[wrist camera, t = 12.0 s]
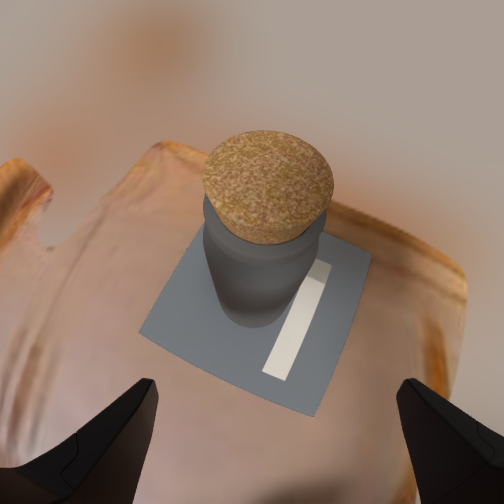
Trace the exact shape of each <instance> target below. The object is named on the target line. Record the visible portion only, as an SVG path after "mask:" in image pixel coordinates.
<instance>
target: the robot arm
mask: <svg viewBox="0 0 504 504" xmlns="http://www.w3.org/2000/svg"><path fill="white" fill-rule="evenodd" d="M158 398H159V396H158V391H157V388H156V384H155V381H154V380H153V379H148V378H142V379H140V380H139V381H138V382H137V383H136V384H134V385H133V386H132V387H131V388H130V389H128V390H127V391H126V392H125V393H124V394H122V395H121V396H120V397H119V398H117V399H116V400H115V401H114V402H113V403H111V404H110V405H109V406H108V407H106V408H105V409H104V410H103V411H101V412H100V413H99V414H98V415H96V416H95V417H94V418H93V419H91V420H90V421H89V422H88V423H86V424H85V425H84V426H83V427H81V428H80V429H79V430H78V431H77V432H76V433H74V434H72V435H71V436H70V437H69V438H67V439H66V440H65V441H63V442H62V443H60V444H59V445H57V446H56V447H54V448H53V449H51V450H49V451H48V452H46V453H44V454H43V455H41V456H39V457H37V458H35V459H34V460H32V461H30V462H28V463H26V464H24V465H22V466H19V467H14V468H0V504H132V503H133V500H134V496H135V492H136V489H137V485H138V482H139V478H140V475H141V471H142V468H143V464H144V461H145V458H146V454H147V451H148V448H149V444H150V441H151V437H152V433H153V427H154V421H155V416H156V410H157V405H158ZM396 400H397V404H398V409H399V414H400V420H401V425H402V430H403V434H404V437H405V440H406V444H407V447H408V451H409V455H410V458H411V462H412V466H413V470H414V474H415V478H416V482H417V486H418V491H419V495H420V500H421V504H504V437H503V436H501V435H500V434H498V433H496V432H494V431H492V430H491V429H489V428H487V427H486V426H484V425H483V424H481V423H480V422H478V421H476V420H475V419H474V418H472V417H471V416H469V415H468V414H466V413H465V412H463V411H462V410H461V409H459V408H458V407H456V406H454V405H453V404H452V403H450V402H449V401H447V400H446V399H444V398H443V397H442V396H440V395H439V394H437V393H436V392H434V391H433V390H431V389H430V388H428V387H427V386H426V385H424V384H423V383H421V382H420V381H418V380H417V379H415V378H409V379H405V380H404V381H403V383H402V385H401V387H400V389H399V390H398V392H397V395H396Z"/></svg>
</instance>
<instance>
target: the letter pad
mask: <svg viewBox="0 0 504 504" xmlns="http://www.w3.org/2000/svg"><path fill="white" fill-rule="evenodd" d="M204 225H205V222H204V224H203V225H202V227H201V228H200V230H199V231H198V233H197V234H196V236H195V238H194V239H193V241H192V242H191V244H190V246H189V247H188V249H187V250H186V252H185V254H184V255H183V257H182V258H181V260H180V262H179V263H178V265H177V267H176V268H175V270H174V272H173V273H172V275H171V277H170V278H169V280H168V282H167V283H166V285H165V287H164V288H163V290H162V292H161V294H160V295H159V297H158V299H157V300H156V302H155V304H154V306H153V307H152V309H151V311H150V313H149V314H148V316H147V318H146V320H145V322H144V323H143V325H142V327H141V329H140V331H139V332H138V333H140V334H141V335H143V336H144V337H146V338H148V339H149V340H151V341H152V342H154V343H156V344H157V345H159V346H161V347H162V348H164V349H166V350H168V351H169V352H171V353H173V354H174V355H176V356H178V357H180V358H182V359H183V360H185V361H187V362H189V363H191V364H193V365H194V366H196V367H198V368H200V369H202V370H204V371H206V372H208V373H210V374H212V375H214V376H216V377H218V378H220V379H222V380H224V381H226V382H228V383H230V384H232V385H234V386H237V387H239V388H241V389H243V390H245V391H248V392H250V393H252V394H254V395H257V396H259V397H261V398H264V399H266V400H269V401H271V402H273V403H276V404H278V405H281V406H284V407H286V408H289V409H291V410H294V411H297V412H300V413H302V414H305V415H308V416H311V417H314V415H315V413H316V411H317V409H318V406H319V404H320V402H321V400H322V398H323V395H324V393H325V391H326V389H327V386H328V384H329V382H330V379H331V377H332V375H333V372H334V370H335V367H336V365H337V362H338V360H339V357H340V354H341V352H342V349H343V347H344V344H345V341H346V338H347V336H348V333H349V330H350V327H351V324H352V321H353V318H354V315H355V312H356V309H357V306H358V303H359V300H360V297H361V293H362V290H363V287H364V283H365V280H366V276H367V273H368V269H369V265H370V262H371V258H372V254H371V253H369V252H367V251H365V250H363V249H360V248H358V247H356V246H354V245H352V244H350V243H347V242H345V241H343V240H341V239H339V238H336V237H334V236H332V235H330V234H327V233H325V232H323V231H322V232H321V234H320V236H319V247H318V252H317V256H316V259H315V261H314V263H313V265H312V267H311V269H310V270H309V272H308V274H307V276H306V277H305V279H304V281H303V283H302V284H301V286H300V287H299V289H298V291H297V292H296V294H295V295H294V297H293V298H292V300H291V302H290V303H289V305H288V306H287V308H286V309H285V311H284V312H283V313H282V315H281V316H280V317H279V318H278V319H277V320H276V321H274V322H273V323H271V324H269V325H267V326H264V327H261V328H248V327H243V326H240V325H238V324H236V323H234V322H233V321H232V320H230V319H229V318H228V317H227V316H226V314H225V313H224V312H223V310H222V308H221V306H220V303H219V300H218V297H217V294H216V291H215V287H214V284H213V281H212V277H211V274H210V270H209V267H208V263H207V260H206V256H205V251H204V246H203V229H204Z"/></svg>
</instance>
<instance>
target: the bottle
mask: <svg viewBox="0 0 504 504" xmlns="http://www.w3.org/2000/svg"><path fill="white" fill-rule="evenodd" d="M203 186H204V189H205V192H206V193H205V197H204V202H203V211H204V218H205V225H204V229H203V246H204V251H205V256H206V260H207V263H208V267H209V270H210V274H211V277H212V281H213V284H214V287H215V291H216V294H217V297H218V300H219V303H220V306H221V308H222V310H223V312H224V313H225V314H226V316H227V317H228V318H229V319H230V320H232V321H233V322H234V323H236V324H238V325H240V326H243V327H248V328H261V327H264V326H267V325H269V324H271V323H273V322H274V321H276V320H277V319H278V318H279V317H280V316H281V315H282V313H283V312H284V311H285V309H286V308H287V306H288V305H289V303H290V302H291V300H292V298H293V297H294V295H295V294H296V292H297V291H298V289H299V287H300V286H301V284H302V283H303V281H304V279H305V277H306V276H307V274H308V272H309V270H310V269H311V267H312V265H313V263H314V261H315V259H316V256H317V252H318V247H319V236H320V234H321V232H322V230H323V227H324V225H325V220H326V207H327V206H328V204H329V202H330V200H331V198H332V195H333V189H334V182H333V175H332V171H331V169H330V166H329V165H328V163H327V162H326V160H325V159H324V157H323V156H322V155H321V154H320V153H319V152H318V151H317V150H316V149H315V148H314V147H312V146H311V145H310V144H308V143H306V142H305V141H303V140H301V139H299V138H297V137H295V136H292V135H289V134H285V133H281V132H276V131H251V132H246V133H242V134H239V135H236V136H234V137H232V138H229V139H227V140H226V141H224V142H223V143H221V144H220V145H219V146H217V147H216V148H215V149H214V150H213V151H212V153H211V154H210V155H209V157H208V159H207V161H206V163H205V166H204V170H203Z"/></svg>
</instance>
